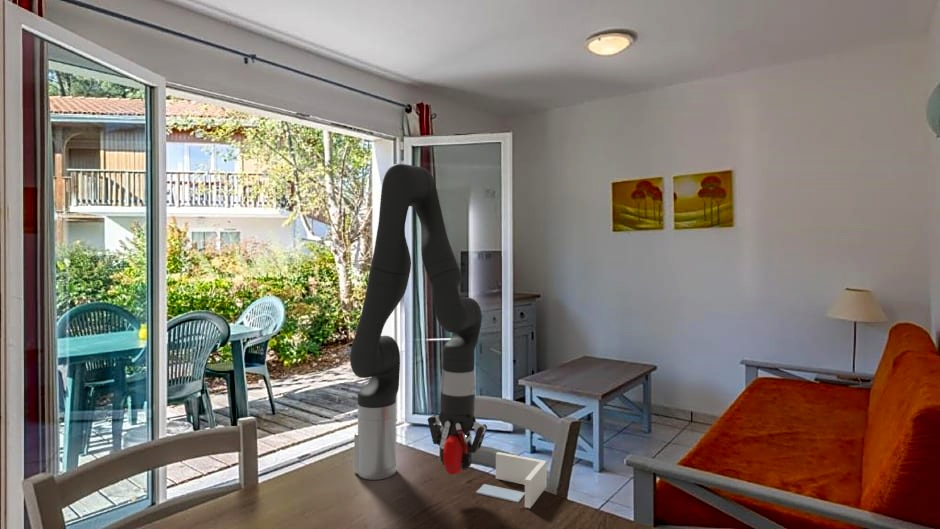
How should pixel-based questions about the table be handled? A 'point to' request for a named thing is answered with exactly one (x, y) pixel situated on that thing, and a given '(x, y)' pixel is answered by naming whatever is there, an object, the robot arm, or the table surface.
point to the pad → (501, 493)
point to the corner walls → (523, 474)
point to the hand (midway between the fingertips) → (455, 466)
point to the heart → (453, 455)
